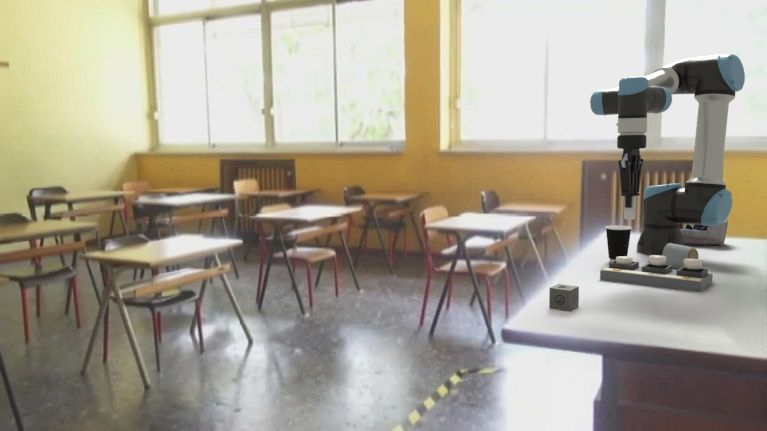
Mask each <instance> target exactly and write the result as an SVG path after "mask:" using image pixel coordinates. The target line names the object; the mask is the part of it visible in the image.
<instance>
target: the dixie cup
mask: <svg viewBox="0 0 767 431" xmlns="http://www.w3.org/2000/svg"><path fill="white" fill-rule="evenodd" d="M632 229H633V227H631V226H629V225H607V226H605V230H606V243H607V252H608V259H609V263H611V262H613V261H615V260H616V257H618V256H628V253H629V246H630V238H631V232H632Z"/></svg>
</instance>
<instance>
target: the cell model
mask: <svg viewBox="0 0 767 431" xmlns="http://www.w3.org/2000/svg"><path fill="white" fill-rule="evenodd" d="M728 224H729V223H728V218H727V219H726V220H725V221H724V222H723V223H722V224H720V225H718V226H709V225H708V226H703V225H696V224H685V223H680V232H681V235H682V238H683V241H684V244H685V246H694V245H695V246H696V245H700V246H709V245H710V246H712V245H713V246H714V245H720V246H721V245H724V244H725V241H726V236H727V231H728Z"/></svg>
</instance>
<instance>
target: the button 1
mask: <svg viewBox="0 0 767 431" xmlns="http://www.w3.org/2000/svg"><path fill="white" fill-rule="evenodd" d="M633 260H634V259H633V257H632V256H628V255H627V256H618V257H616V264H626V265H631V264H632V262H633Z"/></svg>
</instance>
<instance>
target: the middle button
mask: <svg viewBox="0 0 767 431" xmlns="http://www.w3.org/2000/svg"><path fill="white" fill-rule="evenodd" d="M648 263H649V264H651V265H666V257H665V256H662V255H648Z"/></svg>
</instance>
